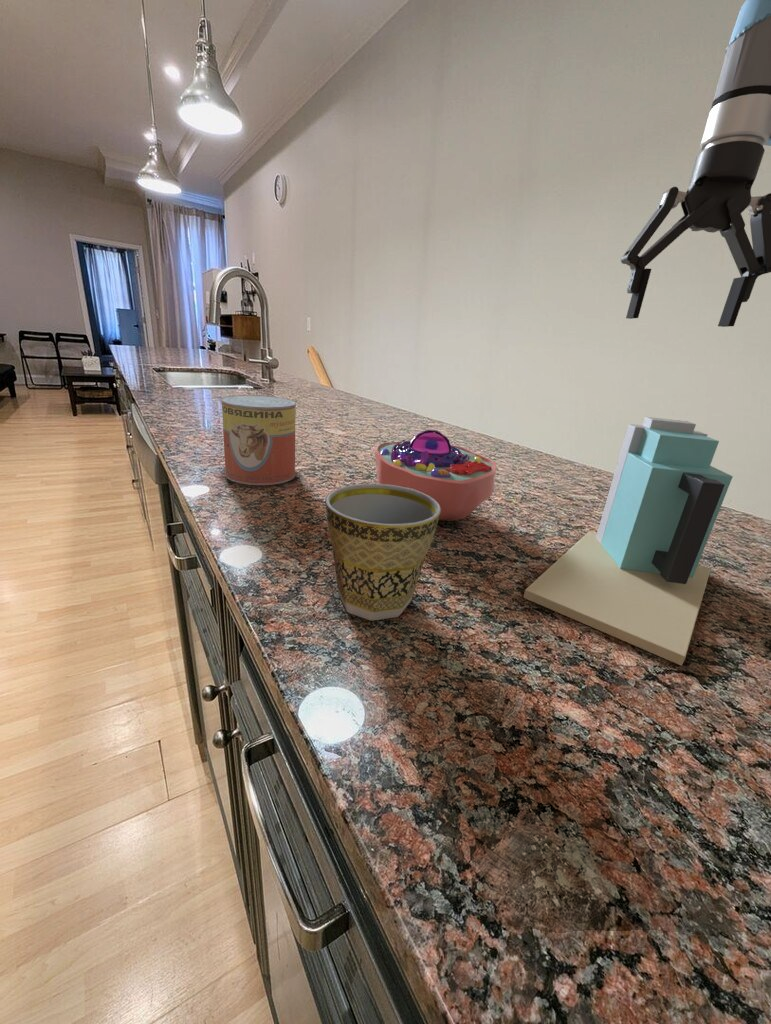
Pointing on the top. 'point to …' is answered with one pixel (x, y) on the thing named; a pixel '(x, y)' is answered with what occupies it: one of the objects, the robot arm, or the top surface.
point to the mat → (622, 599)
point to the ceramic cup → (379, 545)
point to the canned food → (259, 439)
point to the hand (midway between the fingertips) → (678, 322)
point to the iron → (662, 499)
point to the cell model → (437, 472)
